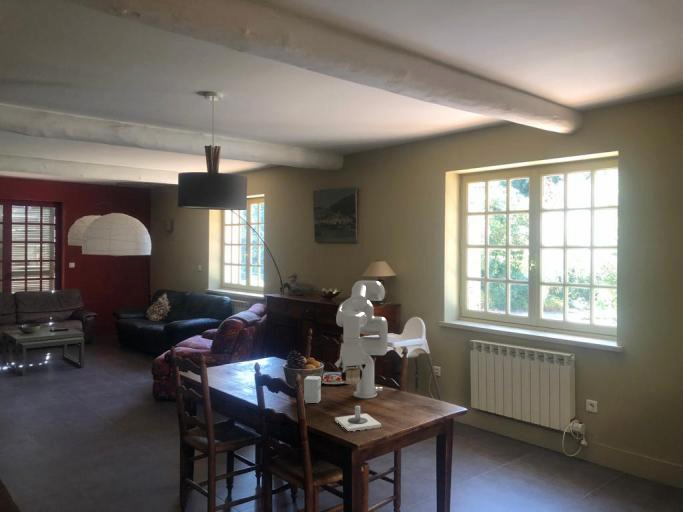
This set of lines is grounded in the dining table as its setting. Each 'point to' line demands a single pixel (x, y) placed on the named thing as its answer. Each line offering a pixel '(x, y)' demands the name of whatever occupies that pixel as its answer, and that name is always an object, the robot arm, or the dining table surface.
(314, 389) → the supplement box
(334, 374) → the ceramic plate
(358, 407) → the steel post stand
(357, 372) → the beech collar
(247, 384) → the dining table surface
